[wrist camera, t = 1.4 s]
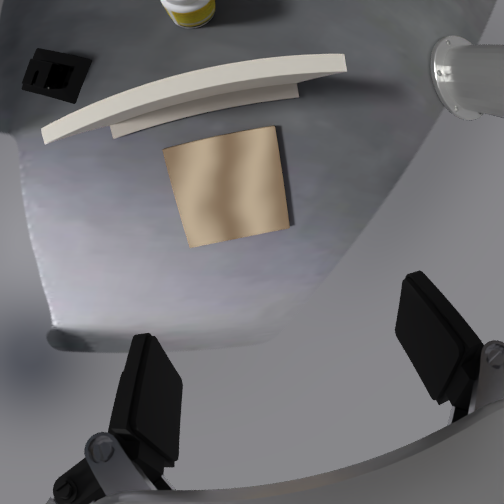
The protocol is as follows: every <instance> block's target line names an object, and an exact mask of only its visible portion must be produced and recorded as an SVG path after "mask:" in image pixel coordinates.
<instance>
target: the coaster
mask: <svg viewBox="0 0 504 504" xmlns="http://www.w3.org/2000/svg"><path fill="white" fill-rule="evenodd" d="M163 154H164V158H165V162H166V166H167V169H168V173H169V177H170V181H171V184H172V188H173V192H174V195H175V199H176V203H177V206H178V210H179V213H180V217H181V220H182V223H183V227H184V230H185V233H186V237H187V240H188V243H189V247H190V248H193V247H198V246H203V245H207V244H212V243H217V242H222V241H227V240H232V239H237V238H242V237H247V236H252V235H257V234H262V233H267V232H272V231H277V230H282V229H288V228H290V226H289V218H288V211H287V203H286V196H285V189H284V182H283V175H282V168H281V162H280V155H279V149H278V142H277V136H276V130H275V126H268V127H262V128H256V129H250V130H244V131H239V132H234V133H229V134H224V135H219V136H214V137H210V138H205V139H201V140H196V141H192V142H188V143H184V144H180V145H176V146H172V147H168V148H165V149H163Z"/></svg>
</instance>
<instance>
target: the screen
mask: <svg viewBox="0 0 504 504" xmlns="http://www.w3.org/2000/svg"><path fill="white" fill-rule="evenodd" d="M342 72H347V69H346V63H345V57H344V54H313V55H295V56H283V57H273V58H264V59H256V60H249V61H242V62H236V63H230V64H225V65H219V66H214V67H210V68H205V69H200V70H196V71H192V72H188V73H183V74H180V75H176V76H172V77H168V78H165V79H161V80H158V81H155V82H151V83H148V84H145V85H142V86H139V87H136V88H133V89H130V90H127V91H124V92H122V93H119V94H116V95H114V96H111V97H108V98H106V99H103V100H101V101H98V102H96V103H94V104H91V105H89V106H87V107H84V108H82V109H80V110H78V111H75V112H73V113H71V114H69V115H67V116H65V117H63V118H61V119H59V120H57V121H55V122H53V123H51V124H49V125H47V126H45V127H43V128H41V131H42V135H43V139H44V143H45V144H48V143H51V142H54V141H57V140H60V139H63V138H66V137H70V136H73V135H76V134H80V133H83V132H87V131H90V130H94V129H98V128H102V127H106V126H110V127H111V131H112V135H113V139H115V138H118V137H121V136H123V135H126V134H129V133H133V132H136V131H139V130H142V129H145V128H148V127H152V126H155V125H159V124H162V123H166V122H169V121H173V120H177V119H181V118H185V117H189V116H193V115H197V114H201V113H206V112H210V111H215V110H220V109H225V108H230V107H235V106H241V105H247V104H253V103H259V102H266V101H273V100H280V99H288V98H297V97H299V93H298V87H297V83H299V82H303V81H306V80H310V79H315V78H319V77H323V76H327V75H332V74H337V73H342Z"/></svg>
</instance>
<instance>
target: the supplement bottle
mask: <svg viewBox="0 0 504 504" xmlns="http://www.w3.org/2000/svg"><path fill="white" fill-rule="evenodd" d="M161 3H162V5H163V6H164V8H165V9H166V11H167V12H168V14H169V16H170V17H171V19H172V20H173V22H174V23H175V24H177V25H178V26H181V27H183V28H197V27H201V26H203V25H205V24H206V23H208V22H209V21H210V20H211V19H212V17H213V16H214V13H215V0H161Z"/></svg>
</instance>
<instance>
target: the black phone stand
mask: <svg viewBox="0 0 504 504" xmlns="http://www.w3.org/2000/svg"><path fill="white" fill-rule="evenodd" d="M91 63H92V60H90V59H86V58H82V57H78V56H74V55H69V54H65V53H60V52H55V51H50V50H45V49H39V48H37V49H36V52H35V54H34V56H33V59H31V60H30V62H29V65H28V67H27V70H26V73H25V76H24V79H23V82H22V83H23V86H22V90H25V91H29V92H33V93H37V94H41V95H45V96H48V97H52V98H56V99H59V100H63V101H66V102H70V103H73V104H75V103H76V101H77V98H78V95H79V93H80V90H81V87H82V85H83V82H84V79H85V77H86V74H87V72H88V70H89V67H90V65H91Z"/></svg>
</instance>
